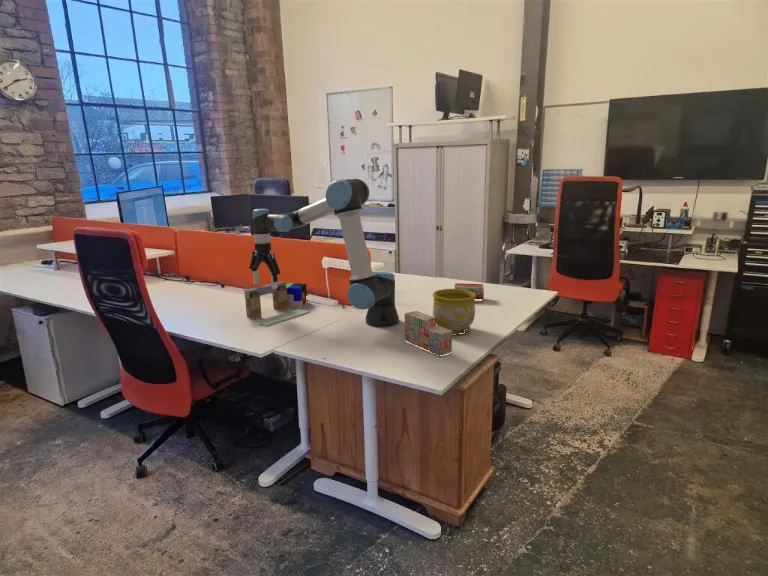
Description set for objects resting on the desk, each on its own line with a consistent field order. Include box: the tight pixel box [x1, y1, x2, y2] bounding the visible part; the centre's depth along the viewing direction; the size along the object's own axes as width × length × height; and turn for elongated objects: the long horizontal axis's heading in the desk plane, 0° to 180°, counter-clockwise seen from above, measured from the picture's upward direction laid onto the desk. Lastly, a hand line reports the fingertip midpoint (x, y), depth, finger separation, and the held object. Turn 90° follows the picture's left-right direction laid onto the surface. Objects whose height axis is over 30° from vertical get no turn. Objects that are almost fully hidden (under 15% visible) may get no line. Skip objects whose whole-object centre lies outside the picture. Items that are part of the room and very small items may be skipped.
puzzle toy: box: [286, 282, 308, 308], centre depth 253 cm, size 10×10×10 cm
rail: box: [243, 280, 287, 299], centre depth 237 cm, size 22×4×4 cm, turn 141°
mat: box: [255, 308, 311, 327], centre depth 232 cm, size 8×26×1 cm, turn 141°
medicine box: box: [453, 283, 485, 300], centre depth 258 cm, size 15×8×8 cm, turn 81°
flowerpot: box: [432, 288, 476, 334], centre depth 210 cm, size 18×18×16 cm
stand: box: [244, 286, 289, 320], centre depth 238 cm, size 6×20×12 cm, turn 141°
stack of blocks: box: [404, 310, 453, 356], centre depth 192 cm, size 21×6×12 cm, turn 36°
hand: (265, 286), depth 237 cm, fingers open, 13 cm apart
